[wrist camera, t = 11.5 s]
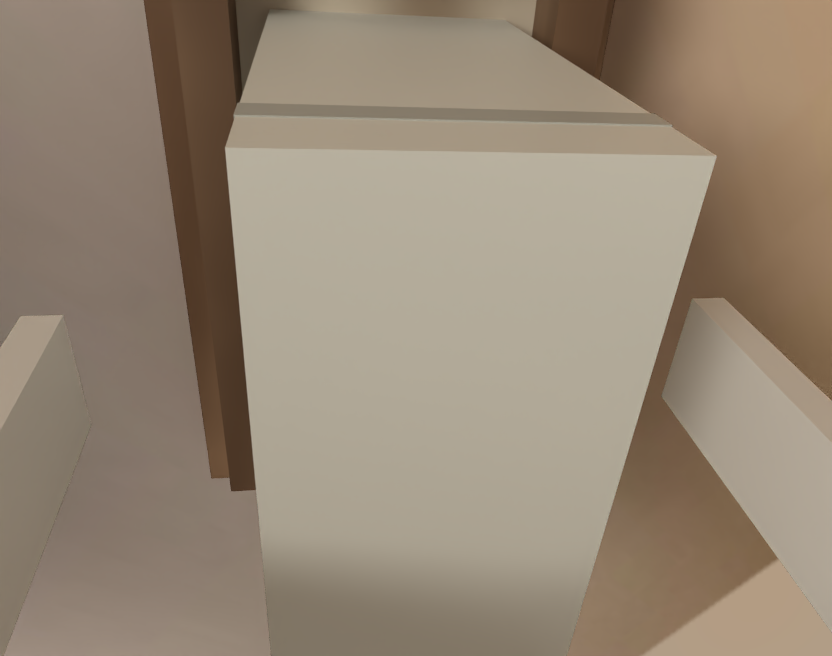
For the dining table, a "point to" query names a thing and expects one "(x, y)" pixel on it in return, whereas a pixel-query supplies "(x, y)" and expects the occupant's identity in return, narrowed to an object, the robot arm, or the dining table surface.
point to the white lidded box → (443, 325)
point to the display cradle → (207, 170)
